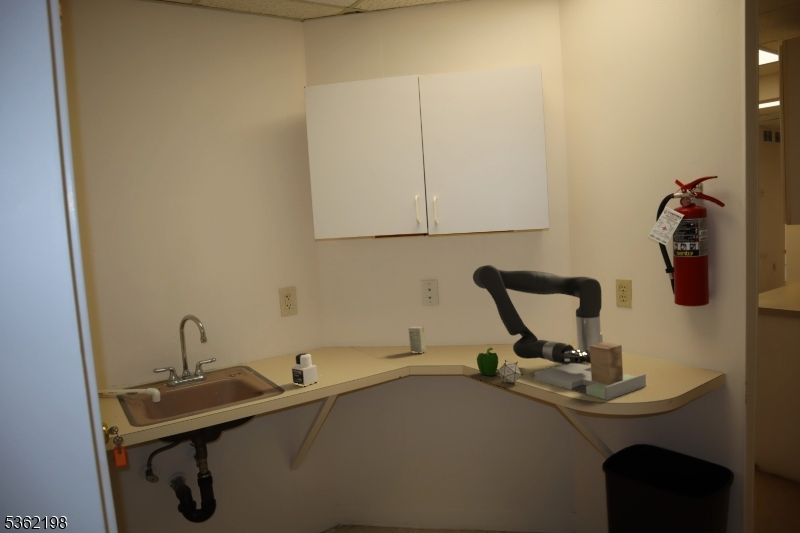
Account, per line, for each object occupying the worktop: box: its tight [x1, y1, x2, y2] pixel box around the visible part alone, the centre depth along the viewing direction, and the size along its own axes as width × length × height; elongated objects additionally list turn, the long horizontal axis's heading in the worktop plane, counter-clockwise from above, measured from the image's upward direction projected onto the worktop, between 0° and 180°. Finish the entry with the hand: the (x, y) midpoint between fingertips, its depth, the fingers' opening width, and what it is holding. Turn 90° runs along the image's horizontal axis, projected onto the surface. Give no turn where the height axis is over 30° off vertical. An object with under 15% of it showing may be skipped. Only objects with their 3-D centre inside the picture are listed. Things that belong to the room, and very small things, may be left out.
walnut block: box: [590, 341, 624, 385], centre depth 172 cm, size 7×7×12 cm
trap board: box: [533, 363, 647, 401], centre depth 180 cm, size 20×31×4 cm, turn 31°
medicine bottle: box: [291, 352, 319, 385], centre depth 204 cm, size 7×7×12 cm
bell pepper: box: [476, 347, 499, 376], centre depth 199 cm, size 8×8×10 cm
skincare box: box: [408, 326, 427, 352], centre depth 241 cm, size 6×4×12 cm
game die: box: [496, 359, 524, 386], centre depth 186 cm, size 9×8×10 cm
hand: (597, 360), depth 175 cm, fingers closed
